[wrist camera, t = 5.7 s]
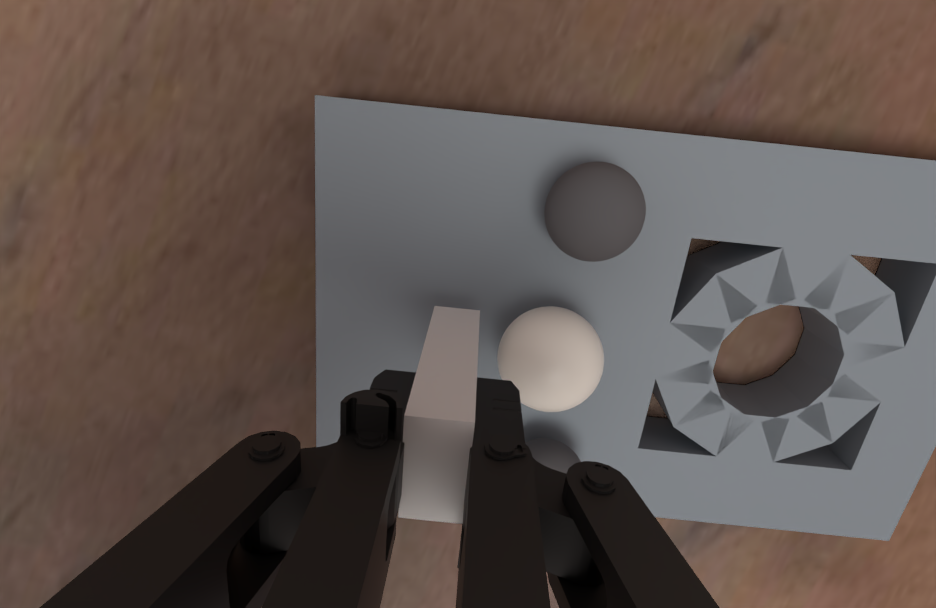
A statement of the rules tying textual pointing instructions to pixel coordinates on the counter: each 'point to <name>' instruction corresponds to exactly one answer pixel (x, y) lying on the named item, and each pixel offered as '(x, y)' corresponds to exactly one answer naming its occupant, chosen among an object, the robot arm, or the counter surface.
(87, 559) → the counter surface
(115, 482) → the counter surface
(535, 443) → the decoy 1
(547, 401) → the ball
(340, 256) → the plate
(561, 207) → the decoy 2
